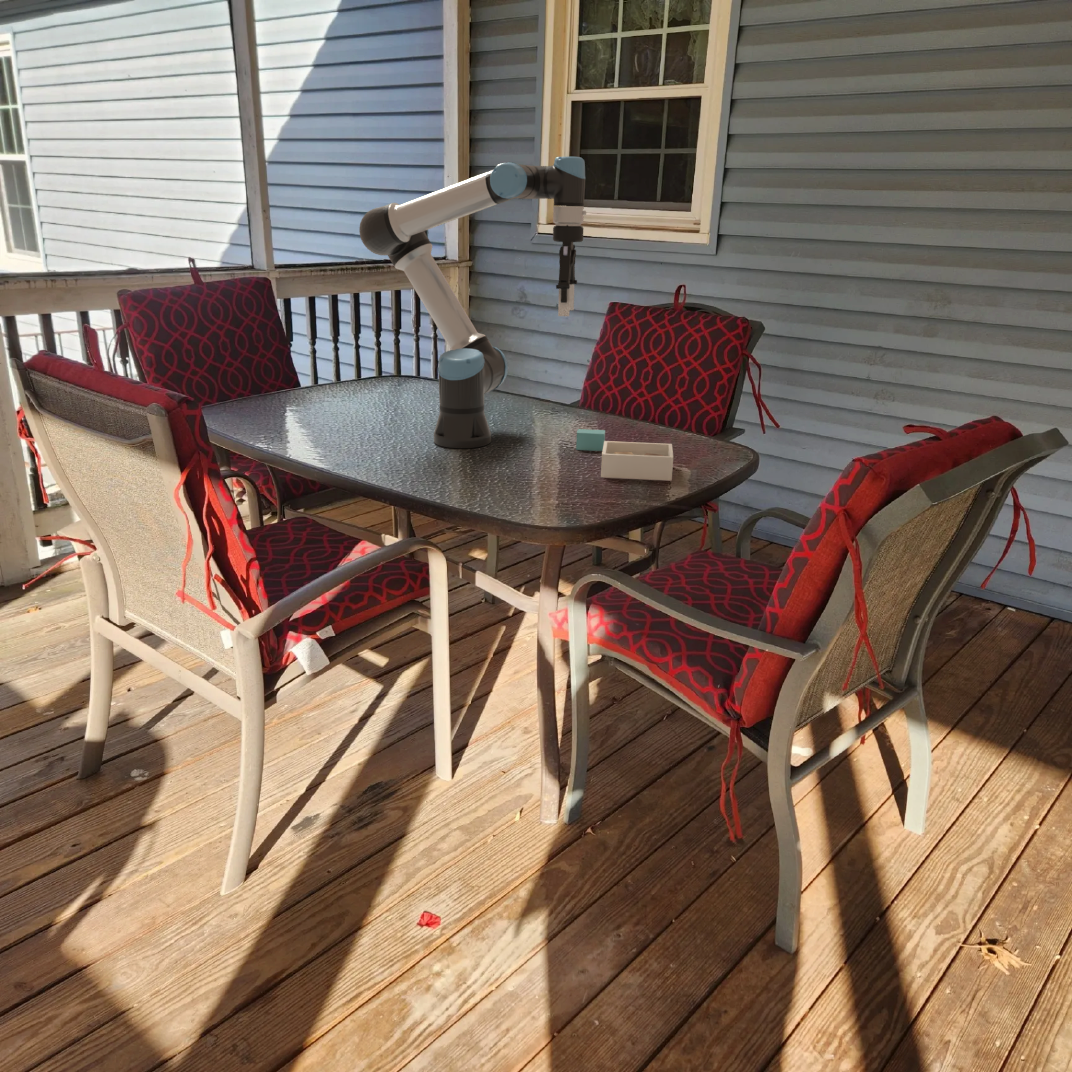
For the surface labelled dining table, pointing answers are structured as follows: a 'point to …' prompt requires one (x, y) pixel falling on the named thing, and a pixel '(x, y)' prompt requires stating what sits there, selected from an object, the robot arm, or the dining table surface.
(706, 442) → the dining table surface
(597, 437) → the lid
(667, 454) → the tub
